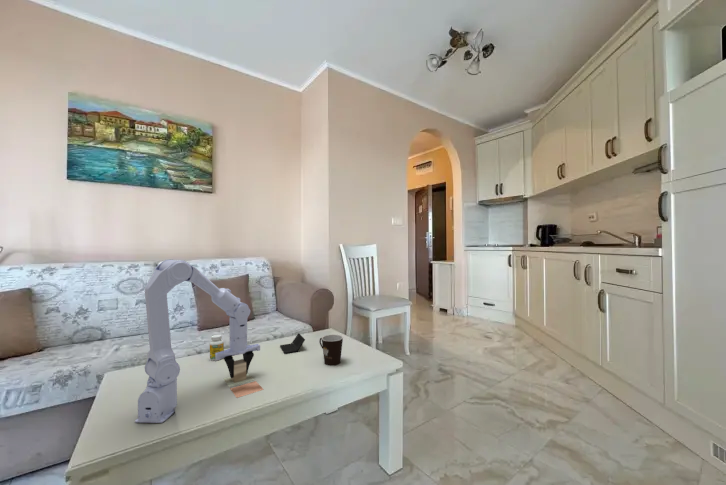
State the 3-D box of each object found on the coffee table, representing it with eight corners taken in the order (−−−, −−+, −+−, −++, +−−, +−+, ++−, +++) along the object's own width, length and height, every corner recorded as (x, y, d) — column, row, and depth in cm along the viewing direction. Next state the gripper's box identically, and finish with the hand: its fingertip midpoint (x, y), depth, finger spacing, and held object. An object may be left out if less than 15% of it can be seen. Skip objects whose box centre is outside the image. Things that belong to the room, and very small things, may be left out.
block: (246, 379, 105) (246, 362, 105) (234, 382, 102) (234, 365, 102) (242, 375, 108) (242, 358, 108) (231, 378, 105) (231, 361, 105)
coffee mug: (345, 364, 120) (345, 339, 120) (324, 368, 117) (324, 342, 117) (337, 354, 131) (337, 331, 131) (317, 357, 128) (317, 334, 128)
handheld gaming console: (275, 344, 140) (289, 326, 142) (286, 350, 144) (299, 332, 146) (284, 355, 130) (298, 335, 133) (296, 362, 134) (309, 342, 137)
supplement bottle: (222, 355, 131) (222, 333, 131) (224, 359, 127) (224, 336, 127) (209, 357, 128) (208, 335, 128) (210, 362, 124) (210, 338, 124)
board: (266, 393, 98) (266, 389, 98) (234, 403, 91) (234, 399, 91) (249, 374, 112) (249, 371, 112) (220, 382, 106) (220, 378, 106)
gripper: (218, 343, 97) (219, 385, 98) (263, 335, 106) (263, 373, 106) (213, 338, 103) (214, 377, 103) (256, 330, 112) (256, 366, 112)
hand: (238, 375), depth 105 cm, fingers closed on block, 4 cm apart
